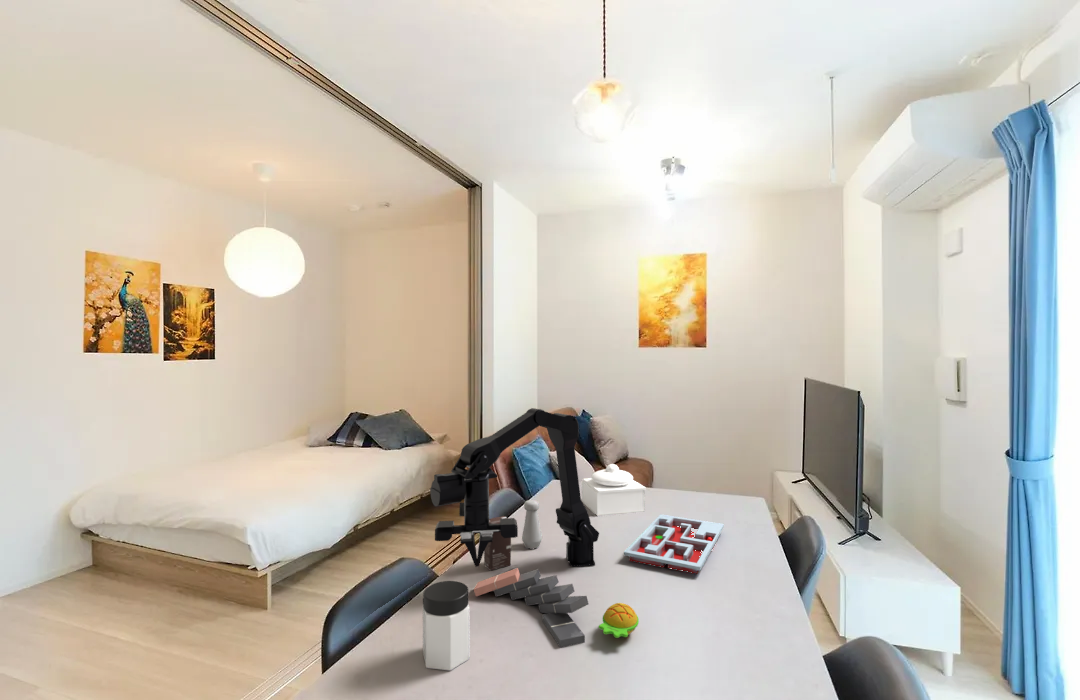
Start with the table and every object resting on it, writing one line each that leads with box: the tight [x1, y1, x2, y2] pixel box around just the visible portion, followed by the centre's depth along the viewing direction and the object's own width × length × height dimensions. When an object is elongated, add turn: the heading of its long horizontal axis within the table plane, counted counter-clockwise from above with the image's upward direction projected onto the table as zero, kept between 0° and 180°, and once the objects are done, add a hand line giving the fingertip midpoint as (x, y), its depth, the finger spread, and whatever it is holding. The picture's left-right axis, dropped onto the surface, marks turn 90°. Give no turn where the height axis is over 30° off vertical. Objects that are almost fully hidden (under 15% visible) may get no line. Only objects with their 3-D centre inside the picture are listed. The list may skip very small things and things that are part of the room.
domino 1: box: [473, 567, 521, 597], centre depth 113 cm, size 2×5×10 cm
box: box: [483, 515, 512, 571], centre depth 129 cm, size 6×4×12 cm
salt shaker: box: [521, 499, 543, 550], centre depth 142 cm, size 6×6×13 cm
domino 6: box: [542, 613, 586, 648], centre depth 98 cm, size 2×5×10 cm
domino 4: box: [524, 583, 575, 606], centre depth 108 cm, size 2×5×10 cm
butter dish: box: [580, 463, 647, 517], centre depth 178 cm, size 18×18×16 cm
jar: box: [422, 580, 471, 671], centre depth 90 cm, size 9×8×12 cm
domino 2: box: [493, 568, 541, 597], centre depth 113 cm, size 2×5×10 cm
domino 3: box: [509, 574, 559, 601], centre depth 111 cm, size 2×5×10 cm
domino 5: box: [538, 595, 589, 614], centre depth 103 cm, size 2×5×10 cm
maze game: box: [623, 513, 725, 574], centre depth 141 cm, size 35×20×3 cm, turn 151°
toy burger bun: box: [598, 602, 640, 639], centre depth 96 cm, size 7×10×5 cm
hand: (477, 566), depth 114 cm, fingers closed
